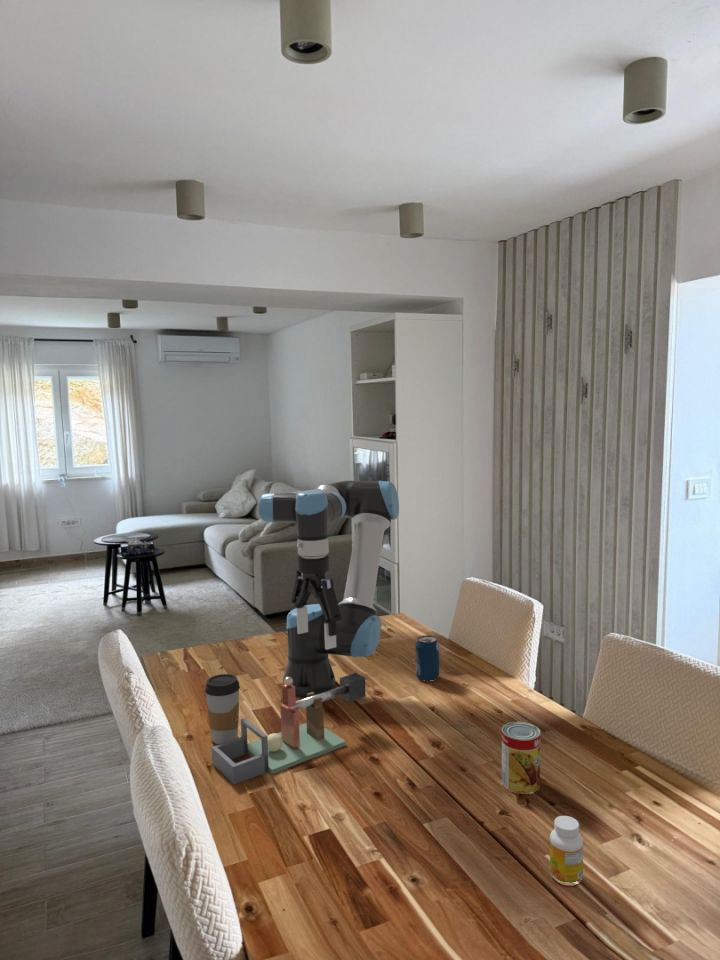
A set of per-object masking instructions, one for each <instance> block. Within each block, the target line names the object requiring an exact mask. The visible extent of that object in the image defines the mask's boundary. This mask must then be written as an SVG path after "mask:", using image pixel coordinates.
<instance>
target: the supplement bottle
mask: <svg viewBox="0 0 720 960" xmlns="http://www.w3.org/2000/svg"><path fill="white" fill-rule="evenodd" d="M553 823H554V826H553V829H552V831H551V833H550V835H549V874H550V873H551V874H552V876H554V877H555V878H556V879H558V880H560V881H563V882H570V883H571V882H576V881H579V880H580V879H581V878H582V876H584V838H583V836H582V834H581V833H580V823H579V821H578V820H577V819H575V818H574V817H572V816H568V815H559V816H556V818H555V819H554V822H553Z"/></svg>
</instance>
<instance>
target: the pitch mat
mask: <svg viewBox="0 0 720 960" xmlns="http://www.w3.org/2000/svg"><path fill="white" fill-rule="evenodd" d="M276 734H278V735H280V736H281V738H282V734H281V731H280V732H277V733H276ZM299 736H300V748H297V749H294V748H292V747H291V746H290V745H288V744H287V743H286V742H284V741H283V740H282V746H281V748H280V749H279V750H278V751H276V752H271V751H269V750H268V763H269V771H268V772H269V773H270V774H271V775H273V774H276V773H278V772H279V773H280V772H281V771H283V770H287V769H289V768H292V767H294V766H297V765H300V764H302V763H305V762H307V761H308V760H312V759H314V758H317V757H319V756H322V755H324V754H327V753H329V752H332V751H335V750H338V749H340V748H343V747H344V746H346V745H347V742H346V740H344V739H343V738H341V737H340V736H339V735H336V734H335V732H332V731H331V730H329V729H328V728H326V727H325V726H324V739H321V740H317V739H315V738H314V737H312V736H311V735H309V734H308V733H307V722H304V723H302V724H299ZM247 744H248V755H249V756H250V758H252V757H255V756H258V755H260V754H262V742H261V738H260V739H256V740H254V741H251V742H247Z"/></svg>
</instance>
